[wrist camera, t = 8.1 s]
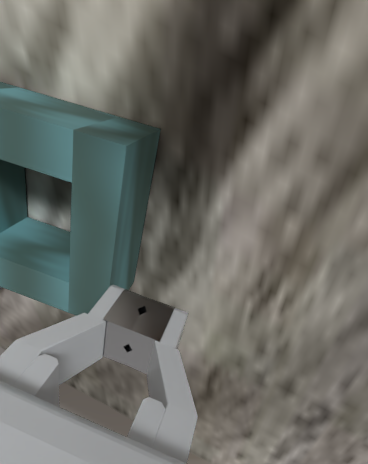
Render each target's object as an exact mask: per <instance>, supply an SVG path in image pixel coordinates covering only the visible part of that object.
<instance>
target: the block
mask: <svg viewBox="0 0 368 464" xmlns="http://www.w3.org/2000/svg"><path fill="white" fill-rule="evenodd" d="M160 130H161V129H159V128H155V127H152V126H149V125H145V124H142V123H138V122H135V121H132V120H128V119H125V118H121V117H118V116H115V115H111V114H108V113H104V112H101V111H98V110H94V109H91V108H87V107H84V106H81V105H77V104H74V103H70V102H67V101H64V100H60V99H57V98H53V97H50V96H47V95H43V94H40V93H36V92H33V91H30V90H26V89H23V88H19V87H16V86H13V85H9V84H6V83H3V82H0V287H3V288H6V289H8V290H11V291H13V292H16V293H19V294H21V295H24V296H27V297H29V298H32V299H34V300H37V301H40V302H42V303H45V304H48V305H50V306H53V307H55V308H58V309H61V310H63V311H66V312H69V313H71V314H74V315H76V316H77V315H80V314H82V313H86V314H88V313H89V312H90V311H91V309H92V308H93V307H94V306H95V304H96V303H97V302H98V301H99V299H100V298H101V297H102V296H103V294H104V293H105V292H106V291H107V289H108V288H109V287H110V286H111V285H116V286H118V287H121V288H123V289H127V290H129V289H130V287H131V286H132V284H133V282H134V278H135V272H136V266H137V261H138V255H139V249H140V244H141V238H142V232H143V227H144V221H145V215H146V210H147V204H148V198H149V192H150V187H151V181H152V175H153V170H154V164H155V158H156V153H157V147H158V141H159V136H160ZM24 167H25V168H28V169H31V170H34V171H37V172H40V173H43V174H47V175H50V176H53V177H56V178H59V179H62V180H65V181H68V182H71V183H72V196H71V231H70V232H69V231H66V230H63V229H60V228H57V227H54V226H51V225H49V224H46V223H43V222H40V221H37V220H34V219H31V218H28V217H27V203H26V186H25V169H24Z"/></svg>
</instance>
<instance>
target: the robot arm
mask: <svg viewBox="0 0 368 464" xmlns="http://www.w3.org/2000/svg"><path fill="white" fill-rule="evenodd" d="M187 317H188V312H186V311H183V310H180V309H178V308H175V307H172V306H169V305H166V304H164V303H161V302H158V301H155V300H153V299H149V298H147V297H144V296H142V295H139V294H137V293H134V292H132V291H129V290H127V289H123V288H121V287H118V286H116V285H111V286H110V287H109V288H108V289H107V291H106V292H105V293H104V294H103V296H102V297H101V298H100V299H99V301H98V302H97V303H96V304H95V306H94V307H93V308H92V309H91V311H90V312H89V313H88V314H86V313H82V314H80V315H77V316H75V317H72V318H70V319H67V320H64V321H62V322H59V323H57V324H54V325H52V326H49V327H47V328H44V329H42V330H39V331H37V332H34V333H32V334H29V335H27V336H24V337H22V338H19V339H17V340H15V341H14V342H13V343H12V344H11V345H10V346H9V347H8V348H7V349H6V350H5V351H4V352H3V354H2V355H0V464H187V460H188V456H189V451H190V447H191V443H192V439H193V435H194V430H195V426H196V422H197V418H198V416H197V412H196V408H195V405H194V401H193V398H192V394H191V390H190V387H189V383H188V380H187V376H186V373H185V369H184V365H183V362H182V358H181V355H180V351H179V350H178V349H177V348H178V345H179V342H180V339H181V336H182V333H183V330H184V326H185V323H186V320H187ZM102 357H106V358H108V359H111V360H114V361H116V362H119V363H122V364H124V365H127V366H129V367H131V368H134V369H136V370H138V371H140V372H143V373H145V374H147V382H148V391H149V397H148V398H145V399H143V401H142V403H141V406H140V408H139V410H138V413H137V415H136V417H135V419H134V422H133V424H132V426H131V429H130V431H129V433H128V435H127V437H125V436H123V435H121V434H119V433H117V432H114V431H112V430H110V429H108V428H106V427H103V426H101V425H99V424H96V423H94V422H92V421H90V420H88V419H85V418H83V417H81V416H78V415H76V414H74V413H71V412H69V411H67V410H65V409H63V408H60V407H59V385H60V384H62V383H64V382H65V381H67V380H68V379H70V378H71V377H73V376H75V375H76V374H78V373H79V372H81V371H82V370H84V369H86V368H87V367H89V366H90V365H92V364H94V363H95V362H97V361H98V360H100V359H101V358H102Z"/></svg>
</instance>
